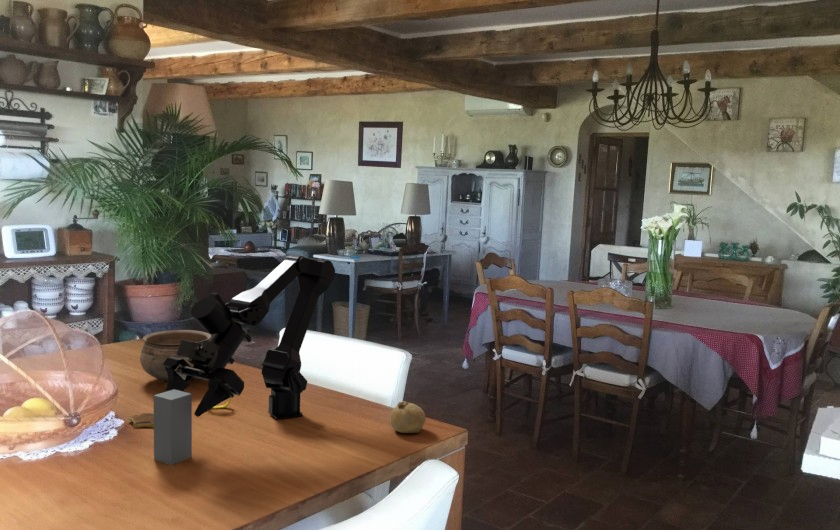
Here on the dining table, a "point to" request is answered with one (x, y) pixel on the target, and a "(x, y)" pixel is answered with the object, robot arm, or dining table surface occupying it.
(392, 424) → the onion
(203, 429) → the dining table surface
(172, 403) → the slate block
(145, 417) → the shard
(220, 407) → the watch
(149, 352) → the cooking pot
